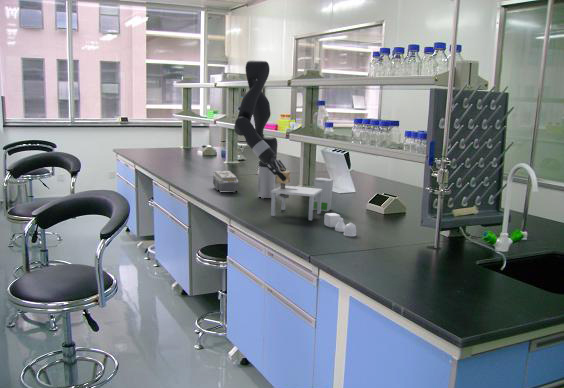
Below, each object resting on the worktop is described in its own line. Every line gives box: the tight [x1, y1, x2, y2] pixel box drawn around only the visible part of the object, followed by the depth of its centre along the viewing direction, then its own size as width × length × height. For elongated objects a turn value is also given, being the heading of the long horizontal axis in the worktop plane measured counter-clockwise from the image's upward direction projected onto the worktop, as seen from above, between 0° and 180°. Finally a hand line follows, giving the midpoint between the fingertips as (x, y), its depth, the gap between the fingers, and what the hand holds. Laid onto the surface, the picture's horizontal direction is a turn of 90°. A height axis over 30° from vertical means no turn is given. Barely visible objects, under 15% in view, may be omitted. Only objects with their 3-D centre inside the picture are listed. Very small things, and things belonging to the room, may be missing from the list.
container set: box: [323, 212, 357, 237], centre depth 213 cm, size 20×5×6 cm, turn 24°
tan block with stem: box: [275, 170, 291, 199], centre depth 239 cm, size 6×6×12 cm
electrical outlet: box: [212, 170, 239, 192], centre depth 296 cm, size 12×28×10 cm, turn 20°
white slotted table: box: [270, 185, 322, 221], centre depth 238 cm, size 16×20×12 cm
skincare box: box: [313, 177, 334, 213], centre depth 251 cm, size 8×7×16 cm
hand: (286, 179), depth 238 cm, fingers closed on tan block with stem, 5 cm apart
